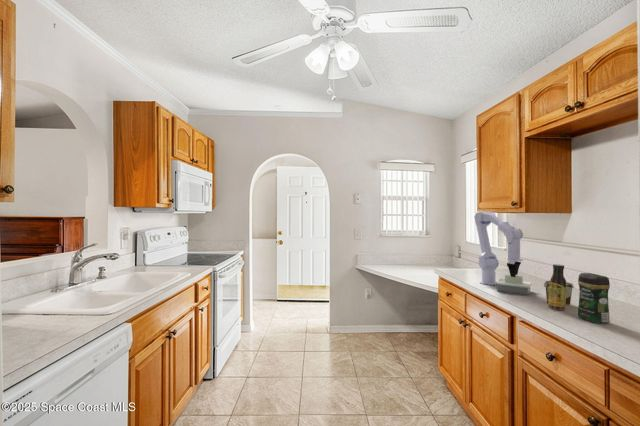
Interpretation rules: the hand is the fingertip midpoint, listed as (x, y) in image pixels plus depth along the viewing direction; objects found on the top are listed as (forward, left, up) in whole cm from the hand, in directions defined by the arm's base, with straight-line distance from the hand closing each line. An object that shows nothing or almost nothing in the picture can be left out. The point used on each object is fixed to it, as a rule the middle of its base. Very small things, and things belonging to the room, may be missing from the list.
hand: (514, 275), depth 177 cm
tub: (0, 0, -9) cm, 9 cm away
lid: (0, 0, -5) cm, 5 cm away
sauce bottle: (+26, +20, -9) cm, 34 cm away
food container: (+14, +19, -9) cm, 25 cm away
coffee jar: (+36, +32, -9) cm, 49 cm away
